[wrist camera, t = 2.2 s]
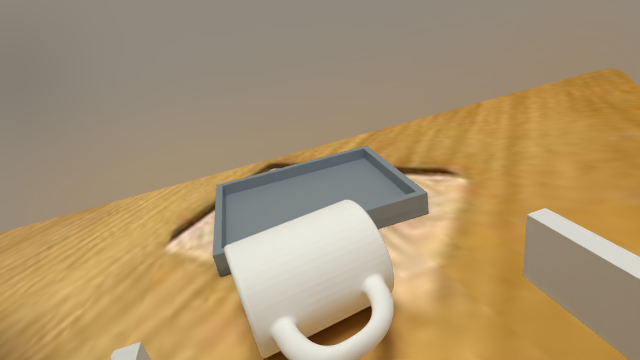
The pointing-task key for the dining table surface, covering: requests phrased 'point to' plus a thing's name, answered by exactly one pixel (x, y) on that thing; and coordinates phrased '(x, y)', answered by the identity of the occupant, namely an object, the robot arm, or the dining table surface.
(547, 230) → the robot arm
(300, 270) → the mug
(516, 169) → the dining table surface
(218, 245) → the tray
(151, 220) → the dining table surface
